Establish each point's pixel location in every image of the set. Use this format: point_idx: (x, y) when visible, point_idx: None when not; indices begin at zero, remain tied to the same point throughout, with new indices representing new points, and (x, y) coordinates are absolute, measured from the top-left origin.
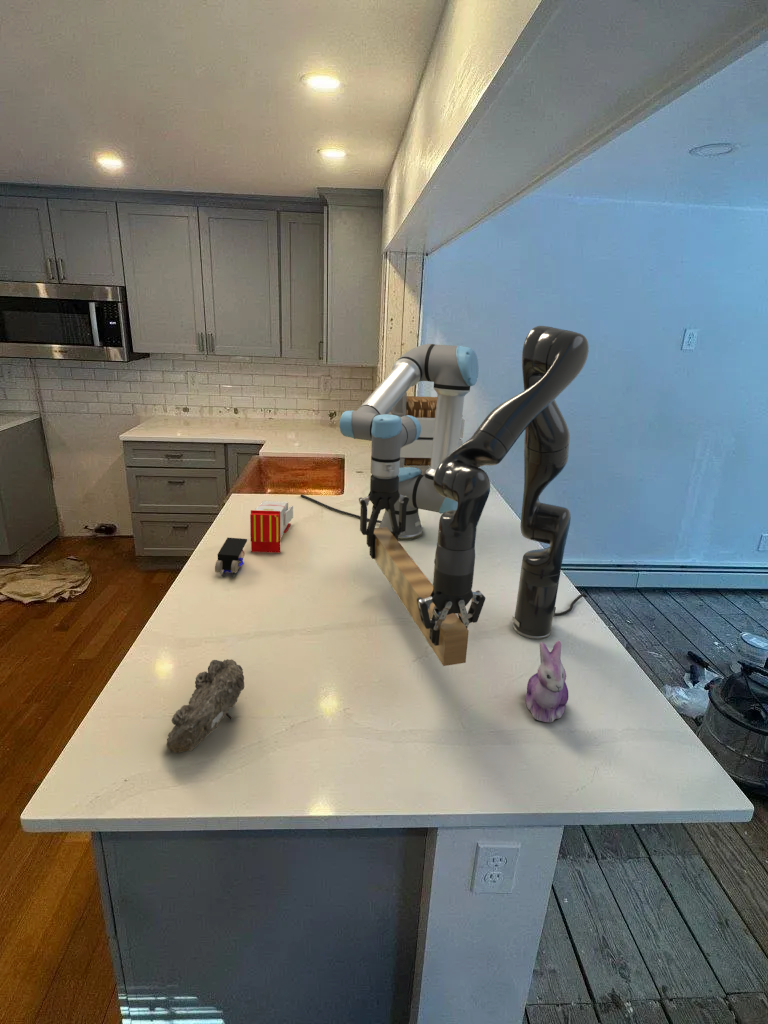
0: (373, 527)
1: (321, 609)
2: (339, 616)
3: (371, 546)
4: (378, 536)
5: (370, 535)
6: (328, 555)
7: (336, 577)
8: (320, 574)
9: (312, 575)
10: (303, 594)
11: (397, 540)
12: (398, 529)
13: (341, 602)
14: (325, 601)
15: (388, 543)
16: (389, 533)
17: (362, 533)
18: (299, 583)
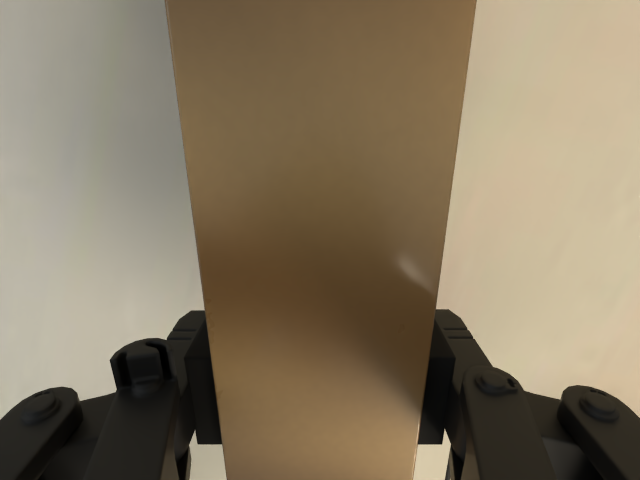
0: (507, 474)
1: (621, 93)
2: (577, 7)
3: None
4: (405, 337)
5: (497, 372)
6: (424, 474)
7: None
8: (502, 363)
9: (532, 362)
10: (630, 234)
11: (186, 163)
12: (107, 416)
13: (515, 136)
14: (574, 159)
15: (355, 74)
16: (245, 389)
17: (621, 403)
18: (603, 317)
